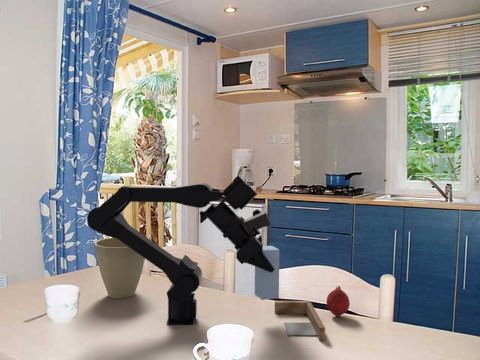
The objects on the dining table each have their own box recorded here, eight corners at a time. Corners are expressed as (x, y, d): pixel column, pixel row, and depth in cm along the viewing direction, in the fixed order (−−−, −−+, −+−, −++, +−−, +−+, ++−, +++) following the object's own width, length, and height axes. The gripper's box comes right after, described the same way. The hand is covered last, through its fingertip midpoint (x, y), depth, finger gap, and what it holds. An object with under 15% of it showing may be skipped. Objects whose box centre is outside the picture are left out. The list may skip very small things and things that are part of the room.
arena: (282, 340, 90) (283, 327, 90) (274, 312, 107) (274, 300, 107) (324, 340, 90) (325, 327, 90) (309, 311, 107) (310, 300, 107)
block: (261, 300, 97) (262, 250, 97) (254, 294, 102) (255, 246, 101) (278, 297, 99) (279, 249, 98) (270, 292, 103) (271, 245, 102)
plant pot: (84, 297, 117) (83, 242, 117) (123, 284, 130) (123, 235, 129) (119, 307, 109) (119, 249, 109) (158, 292, 122) (157, 240, 121)
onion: (349, 322, 101) (350, 290, 100) (326, 320, 102) (326, 288, 101) (348, 313, 106) (349, 283, 106) (326, 311, 108) (326, 282, 107)
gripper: (251, 204, 90) (300, 254, 90) (252, 196, 109) (292, 238, 109) (216, 238, 91) (264, 288, 91) (222, 225, 109) (262, 266, 109)
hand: (272, 267), depth 100 cm, fingers closed on block, 6 cm apart
